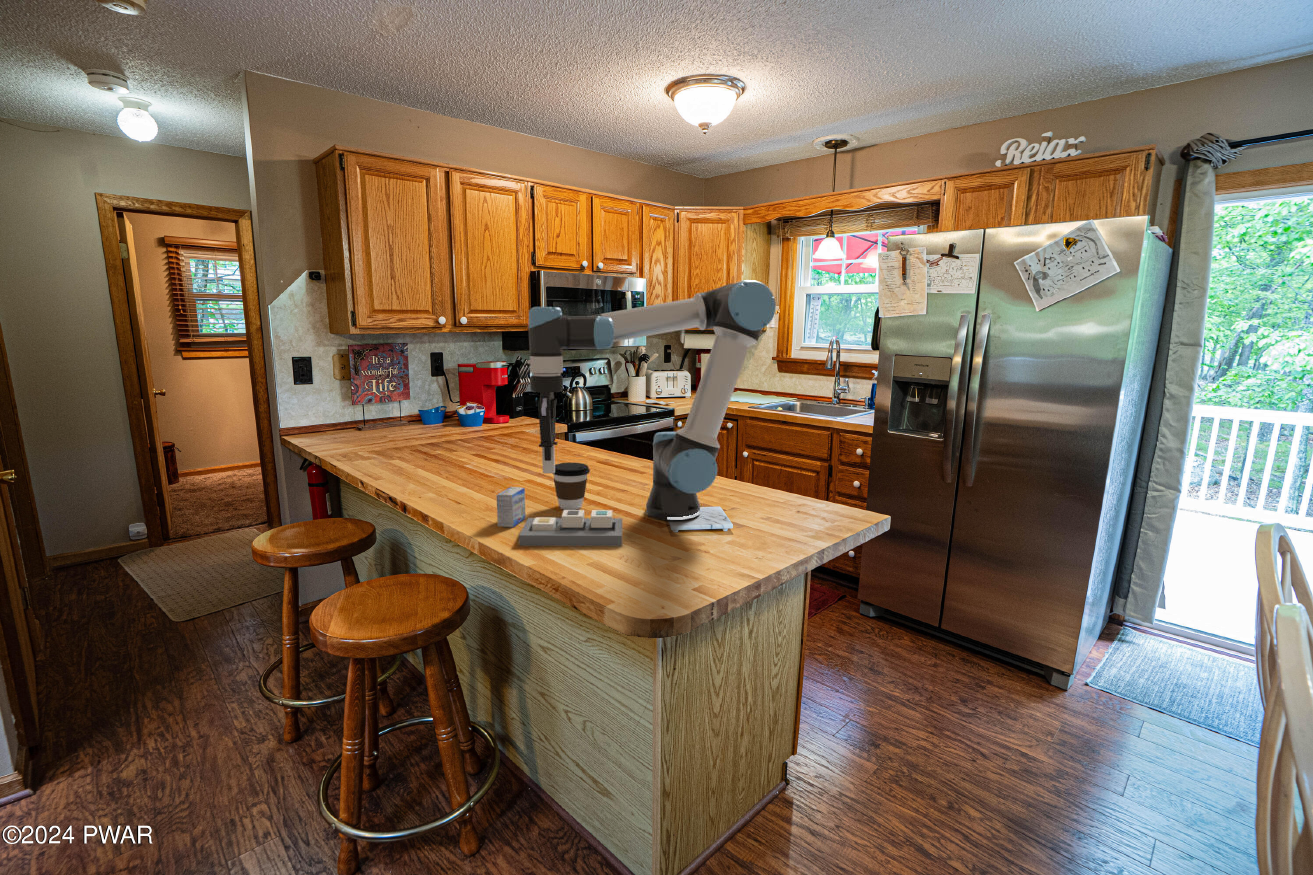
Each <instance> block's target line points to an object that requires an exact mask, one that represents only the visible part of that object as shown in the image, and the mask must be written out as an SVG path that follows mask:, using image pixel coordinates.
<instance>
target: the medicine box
mask: <svg viewBox="0 0 1313 875" xmlns="http://www.w3.org/2000/svg"><path fill="white" fill-rule="evenodd" d="M525 490H526V489H525V487H517V486H511V487H508V488H507V489H505V490H503V491H501V492H499V493H498V494H496V516H497V518H496V519H497V527H501V528H502V527H503V528H511V529H513V528H515V527H516V526H518V525H519V524H521V522H523V521H524V520H525V519H526V491H525Z"/></svg>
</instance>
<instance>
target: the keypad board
mask: <svg viewBox="0 0 1313 875" xmlns="http://www.w3.org/2000/svg"><path fill="white" fill-rule="evenodd" d="M535 518H536V517H528V518H527V519H526V521H525V523H524V524H523V527H522V529H521V531H520V533H519V535H518V546H519V547H622V546H623V518H621V517H620V518H619V517H617V518H616V517H615V518H613V517H612V528H591V517H584V524H583V528H577V527H562V517H555V518H556V530H555V531H532V524H533V522H534V520H535Z"/></svg>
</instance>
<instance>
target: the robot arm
mask: <svg viewBox="0 0 1313 875" xmlns="http://www.w3.org/2000/svg"><path fill="white" fill-rule="evenodd" d="M776 309H777V306H776V299H775V297H774V294H773V292H772V291H771V289H770V288H769V287H768V286H767V284H765V283H762V282H760V281H757V280H751V279H745V280H740V281H738V282H734V283H733V282H732V283H727V284H726V285H722V286H720V287H718V288H714V289H711V290H708V291H705V292H704V291H703V292H698V293H695V294H694V295H693V297H692V298H687V299H685V298H684V299H679V300H674V301H670V302H669V301H668V302H664V303H657V304H651V305H646V306H640V307H634V308H628V309H622V310H616V311H611V312H610V311H609V312H605V313H604V312H603V313H600V314H591V315H587V316H584V315H583V316H570V315H563V312H562V309H561V308H560V307H559V306H558V307H555V306H553V307H552V306H534V307H532V308H530V309H529V310H528V343H529V344H528V345H529V347H528V348H529V359H528V360H527V362H526V363H527V364H528V365H530V366H529V368H530V370H529V372H530V374H532V375H531V376H530V378H529V379H530V380H529V383H530V391H531V392H533V393H540V395H539V397H540V398H539V399H538V400H537V412H538V421H539V435H540V436H539V437H540V443H539V444H538V447H539V448H541V449H542V450H541V451H542V453H541V454H542V455H541V456H542V474H552V473H555V465H556V464H555V463H556V462H555V461H556V459H555V454H556V453H555V446H558V441H556V415H557V410H556V408H557V407H556V406H557V404H558V403H557V398H555V395H554V393H560V392H562V391H563V390H564V377H563V375H562V374H563V372H564V365H563V363H564V362H563V361H564V357H563V349H565V350H568V349H571V350H572V349H576V350H577V349H578V350H599V351H600V350H604V349H605V350H606V349H611V348H612V347H613V345H614V343H616V342H618V341H626V340H631V339H636V338H642V337H643V338H644V337H648V336H649V337H650V336H655V335H659V334H664V333H665V334H666V333H671V332H676V331H683V330H687V329H688V330H689V329H693V328H698V329H699V330H701V331H703V330H710V329H713V331H714V332H713V333H714V334H715V338H714V342H713V344H712V347H711V350H710V353H709V356H708V358H707V360H706V364H705V367H704V370H703V373H702V376H701V378H700V381H699V384H698V387H697V390H696V392H695V396H694V398H693V401H692V404H691V406H690V410H689V413H688V415H687V417H686V418H687V419H686V422H685V424H684V426H683V427H682V428H680V429H678V430H676V431H661V432H660V431H659V432H656V433H655V434H654V436H653V443H652V446H653V447H652V448H653V451H652V454H653V455H652V457H653V459H652V486H651V490H650V493H649V496H648V498H647V502H646V503H645V504H646V506H645V513H646V515H647V516H649V517H651V518H653V519H657V520H662V521H668V520H667V517H683V516H689V515H693V514H695V513H697V512H698V511H699V510H700V511H701V504H700V501H699V498H698V493H701V492H703V491H705V490H707V489H709V488H710V487H711V486H712V485H713V483H714V482H715V480H716V478H717V475H718V464H717V461H716V459H717V456H718V453H719V450H720V449H721V448H720V447H721V445H720V443H719V441H718V436H719V435H718V434H719V432H720V430H721V426H722V424H723V422H724V418H725V415H726V413H727V409H728V407H729V405H730V401H731V399H732V396H733V393H734V391H735V387H736V385H737V383H738V382H737V381H738V378H739V376H740V373H741V371H742V367H743V364H744V362H745V359H746V357H747V354H748V351H749V349H750V348H751V347H752V346H754V345H755V344H758V342H759V338H760V337H761V333H762V331H763V329H764V328H766V327H767V326H768V325H769V324H770V323H772V321H773V318H774V317H775V314H776Z"/></svg>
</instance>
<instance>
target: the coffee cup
mask: <svg viewBox="0 0 1313 875" xmlns="http://www.w3.org/2000/svg"><path fill="white" fill-rule="evenodd" d="M590 471H591V470H590V468H589V466H588V465H587V464H585V463H581V462H560V463H557V464H555V473H551V474H552V475H553V482H554V490H555V495H556V498H557V503H558V506H559V508H560V509H561V510H563V511H564V510H581V508H582V507H583V505H584V498H585V495H586V494H585V493H586V490H587V482H588V474H590Z"/></svg>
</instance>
